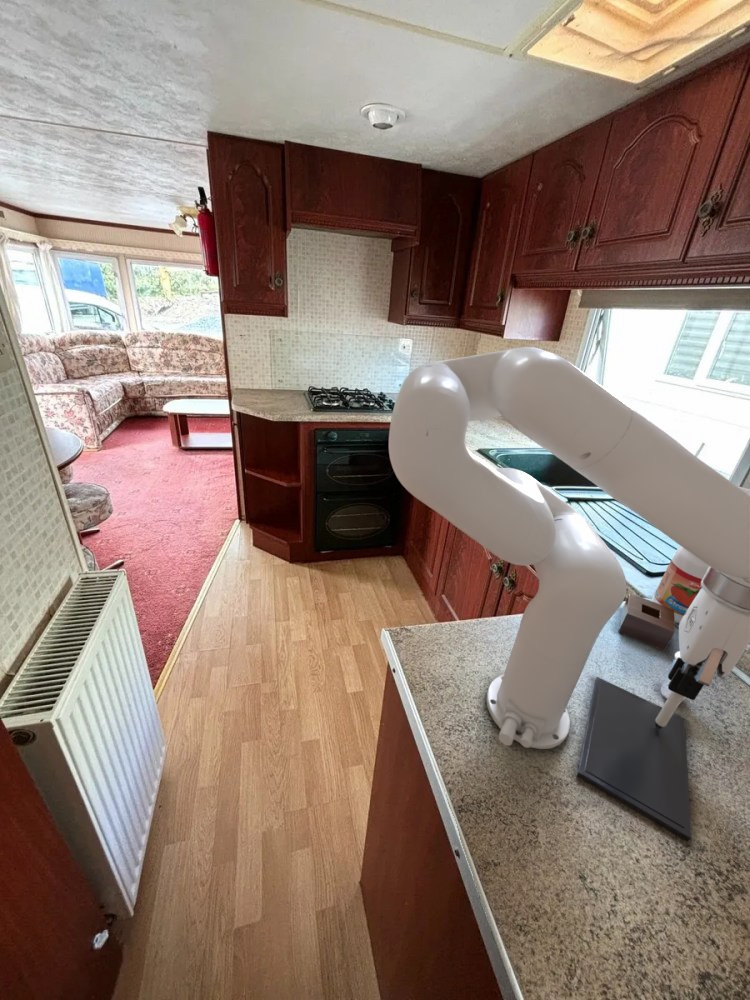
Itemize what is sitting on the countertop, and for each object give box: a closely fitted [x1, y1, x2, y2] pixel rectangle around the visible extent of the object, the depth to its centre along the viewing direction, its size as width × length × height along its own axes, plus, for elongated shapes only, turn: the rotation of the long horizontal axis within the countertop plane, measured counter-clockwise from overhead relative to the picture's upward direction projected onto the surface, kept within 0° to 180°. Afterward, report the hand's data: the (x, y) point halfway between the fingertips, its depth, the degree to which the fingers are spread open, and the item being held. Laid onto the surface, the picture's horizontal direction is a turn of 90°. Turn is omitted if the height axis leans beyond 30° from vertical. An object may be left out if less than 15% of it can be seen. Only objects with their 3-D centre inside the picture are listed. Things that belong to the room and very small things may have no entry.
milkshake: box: [660, 650, 686, 704], centre depth 67 cm, size 4×5×10 cm
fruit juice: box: [651, 545, 709, 624], centre depth 85 cm, size 9×9×28 cm
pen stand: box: [618, 593, 676, 652], centre depth 83 cm, size 8×8×5 cm
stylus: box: [655, 664, 701, 729], centre depth 59 cm, size 1×1×14 cm
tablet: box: [576, 676, 692, 843], centre depth 60 cm, size 20×13×1 cm, turn 147°
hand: (680, 687), depth 59 cm, fingers closed on stylus, 1 cm apart
